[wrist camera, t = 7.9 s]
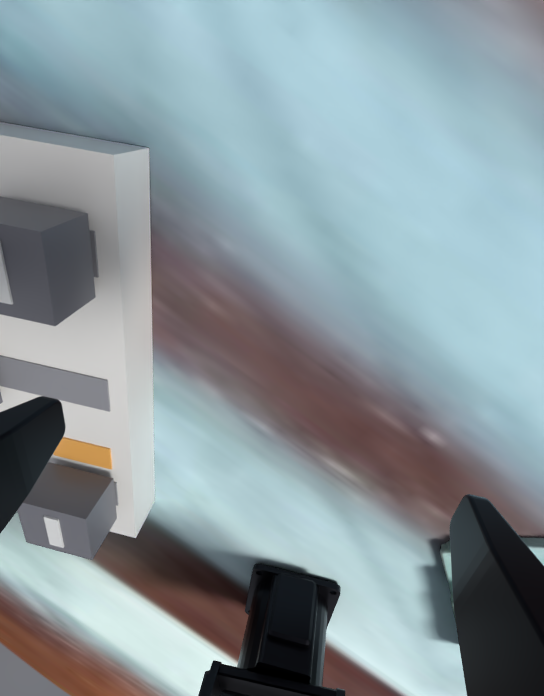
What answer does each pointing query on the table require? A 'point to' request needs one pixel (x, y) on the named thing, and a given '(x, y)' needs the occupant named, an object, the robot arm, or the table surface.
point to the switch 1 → (44, 261)
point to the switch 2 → (69, 510)
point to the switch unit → (91, 312)
